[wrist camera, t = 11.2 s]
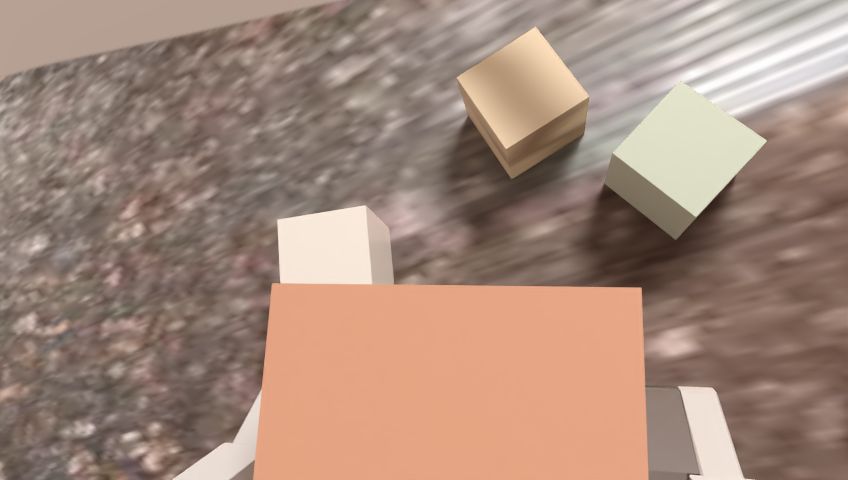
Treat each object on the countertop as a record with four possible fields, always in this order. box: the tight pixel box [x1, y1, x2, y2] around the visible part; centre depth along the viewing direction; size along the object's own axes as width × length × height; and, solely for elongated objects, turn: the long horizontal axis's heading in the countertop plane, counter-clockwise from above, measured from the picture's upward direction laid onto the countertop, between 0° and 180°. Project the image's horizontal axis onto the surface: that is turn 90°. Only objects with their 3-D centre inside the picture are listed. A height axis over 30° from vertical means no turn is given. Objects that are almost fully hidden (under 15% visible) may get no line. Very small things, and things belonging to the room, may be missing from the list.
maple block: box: [457, 27, 589, 179], centre depth 35 cm, size 5×5×5 cm
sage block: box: [604, 81, 766, 240], centre depth 32 cm, size 5×5×5 cm
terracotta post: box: [253, 283, 649, 480], centre depth 10 cm, size 4×4×9 cm
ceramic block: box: [278, 205, 394, 285], centre depth 35 cm, size 5×5×5 cm
